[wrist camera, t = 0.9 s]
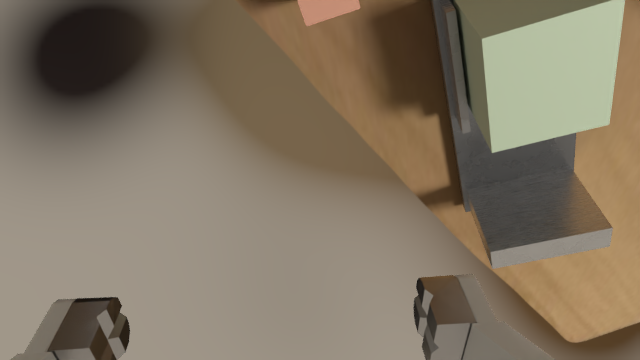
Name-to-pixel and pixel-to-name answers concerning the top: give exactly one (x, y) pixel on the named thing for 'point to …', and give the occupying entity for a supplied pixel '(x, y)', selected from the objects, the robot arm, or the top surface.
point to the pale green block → (538, 66)
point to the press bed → (515, 177)
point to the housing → (325, 9)
